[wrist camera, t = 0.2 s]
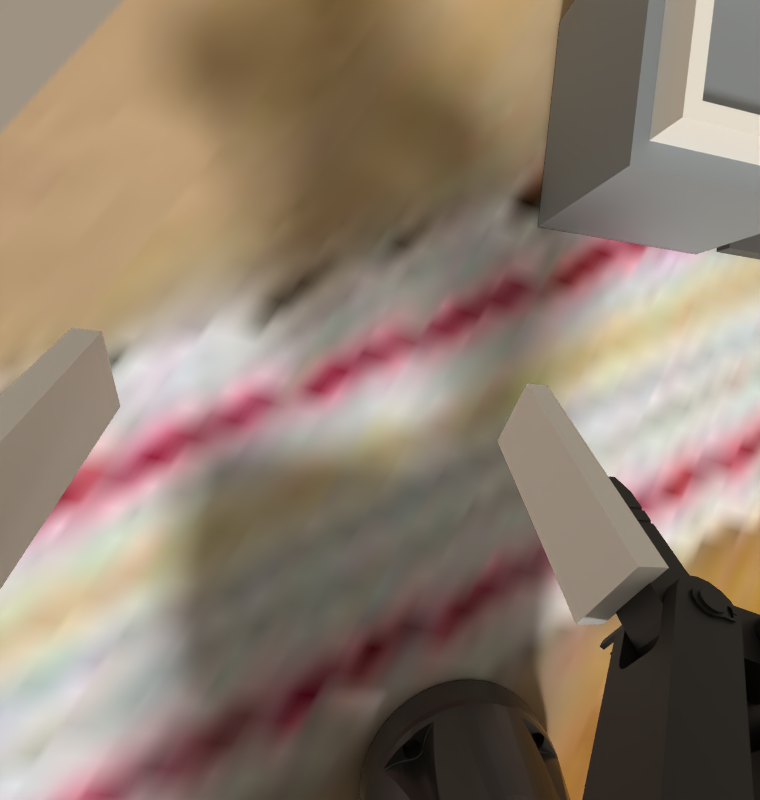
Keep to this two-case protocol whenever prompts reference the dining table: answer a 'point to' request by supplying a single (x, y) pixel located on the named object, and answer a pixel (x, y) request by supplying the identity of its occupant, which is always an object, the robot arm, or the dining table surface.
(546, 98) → the dining table surface
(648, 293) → the dining table surface
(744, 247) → the gray square frame
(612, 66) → the tray
